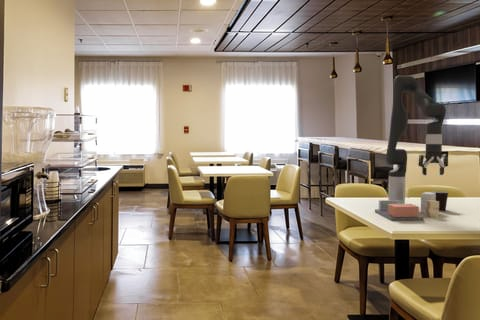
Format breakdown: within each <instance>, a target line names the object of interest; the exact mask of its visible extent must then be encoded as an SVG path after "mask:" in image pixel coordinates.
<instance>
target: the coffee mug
mask: <svg viewBox="0 0 480 320" xmlns="http://www.w3.org/2000/svg"><path fill="white" fill-rule="evenodd" d="M431 193H436V201H439V212H444V211H445V212H446V210H447V205H448V204H447V203H448V196H449V192H448V191H445V190H432V191H431Z"/></svg>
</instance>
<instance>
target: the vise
mask: <svg viewBox="0 0 480 320" xmlns="http://www.w3.org/2000/svg"><path fill="white" fill-rule="evenodd" d="M388 204H402V200H388V199H379V200H378V208H375V209H374V213H375V214H378V215H380V216H382V218H385V219H387V220H389V221H390V222H391V221H392V222H394V221H396V222H401V221H404V222H407V221H410V222H411V221H418V222H419V221H420V222H421V221H424V220H425V219H424V217H423V216H422V215H419V217H393V216H391V215H389V214H388Z"/></svg>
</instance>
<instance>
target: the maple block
mask: <svg viewBox="0 0 480 320" xmlns="http://www.w3.org/2000/svg"><path fill="white" fill-rule="evenodd" d="M425 216H426V217H428V218H439V217H440V211H439V201H435V200H426V213H425Z"/></svg>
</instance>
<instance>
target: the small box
mask: <svg viewBox="0 0 480 320" xmlns="http://www.w3.org/2000/svg"><path fill="white" fill-rule="evenodd" d="M426 200H435V201H436V193H431V192H429V191H425V192H422V193H420V213H421V214H426Z"/></svg>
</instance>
